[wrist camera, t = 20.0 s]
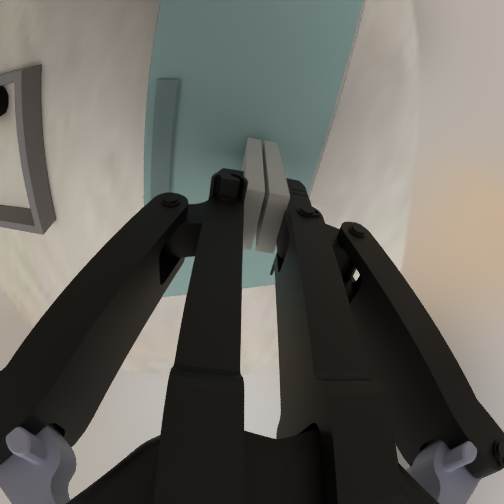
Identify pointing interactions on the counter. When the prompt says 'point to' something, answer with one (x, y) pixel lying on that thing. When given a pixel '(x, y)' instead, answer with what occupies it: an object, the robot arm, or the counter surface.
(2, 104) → the film camera
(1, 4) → the counter surface
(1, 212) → the camera corral
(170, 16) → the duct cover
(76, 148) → the counter surface
